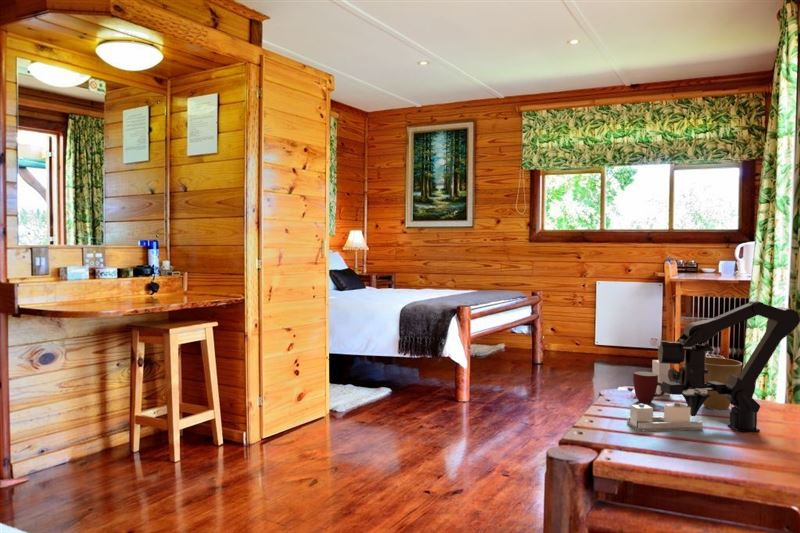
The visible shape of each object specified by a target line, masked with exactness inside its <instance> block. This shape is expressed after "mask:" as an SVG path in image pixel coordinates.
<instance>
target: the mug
mask: <svg viewBox="0 0 800 533" xmlns="http://www.w3.org/2000/svg"><path fill="white" fill-rule="evenodd" d="M632 374H633V376H632V377H633V378H632V381H633V388H634V395H635V396H636V398H637V401H638V402H639V403H640V404H651V403H652V402H653V400H654V398H659V397H660V398H661V397H662V396H665V395H664V393H665V392H663V391H662V393H661V394H660V395H659V394H657V393H656V389H657V385H659V386H660V387H661V384H662V383H659V382H658V374H656V373H652V372H651V371H641V370H640V371H634V372H633V373H632Z"/></svg>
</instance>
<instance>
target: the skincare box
mask: <svg viewBox="0 0 800 533" xmlns="http://www.w3.org/2000/svg"><path fill="white" fill-rule="evenodd" d="M651 362H652V368H651V369H652V373H656V374H658V382H659V383H663V382H671V380H669V379H668V370H670V369H671V364H666V363H659V361H658V359H652V361H651ZM661 393H662V391H661V387H660V386H659V385H657V389H656V395H660V394H661ZM670 395H671V394H668V393H666V392H665V393H664V395H663V396H670Z"/></svg>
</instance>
